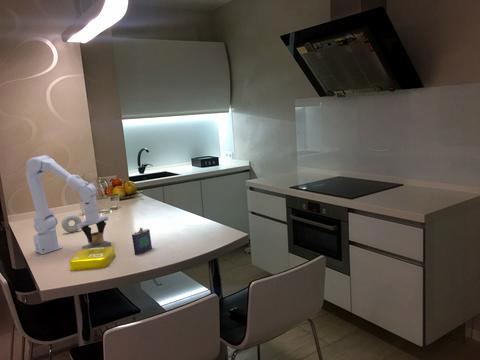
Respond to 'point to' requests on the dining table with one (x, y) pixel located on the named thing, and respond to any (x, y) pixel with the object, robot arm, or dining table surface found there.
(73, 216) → the donut
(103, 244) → the rod stand
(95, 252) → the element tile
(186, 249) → the dining table surface
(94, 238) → the wooden square ring
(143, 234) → the flask
